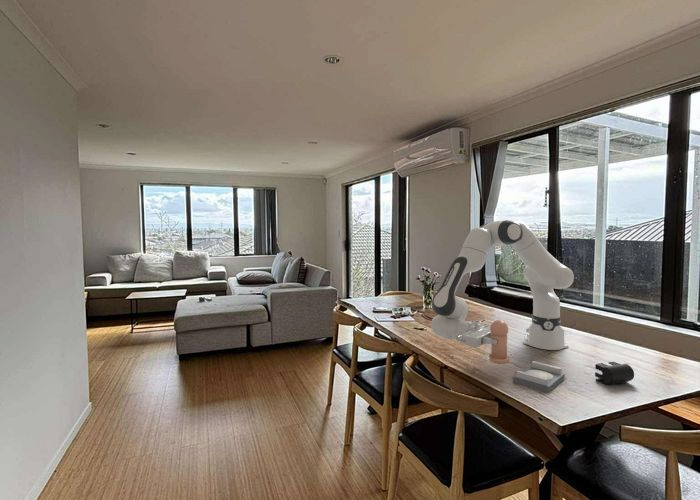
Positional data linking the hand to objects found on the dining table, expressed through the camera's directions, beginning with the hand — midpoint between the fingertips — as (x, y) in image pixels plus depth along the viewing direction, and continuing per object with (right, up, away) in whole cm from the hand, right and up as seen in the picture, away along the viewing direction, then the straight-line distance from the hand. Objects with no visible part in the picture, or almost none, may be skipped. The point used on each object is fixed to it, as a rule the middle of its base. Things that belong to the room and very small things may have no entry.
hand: (501, 339), depth 139 cm
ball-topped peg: (0, -8, +1) cm, 8 cm away
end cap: (+38, -14, -6) cm, 41 cm away
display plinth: (+12, -14, -4) cm, 19 cm away
